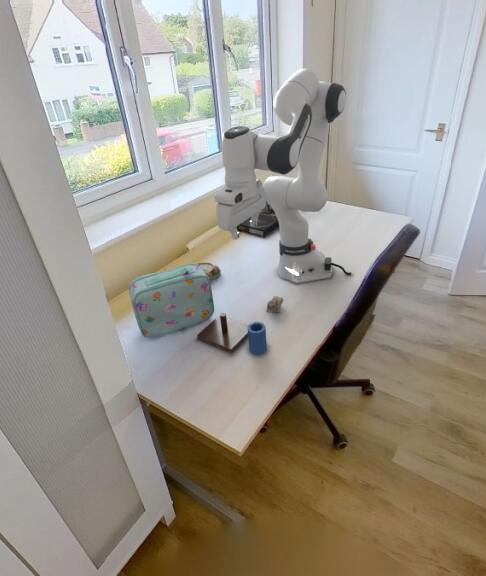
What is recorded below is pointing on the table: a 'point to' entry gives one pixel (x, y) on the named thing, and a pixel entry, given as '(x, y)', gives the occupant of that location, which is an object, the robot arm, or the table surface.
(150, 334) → the lunch box
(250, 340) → the blue faceted hollow tube
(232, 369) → the table surface
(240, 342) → the platform
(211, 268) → the alarm clock
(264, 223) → the portable cd player
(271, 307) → the toy character
